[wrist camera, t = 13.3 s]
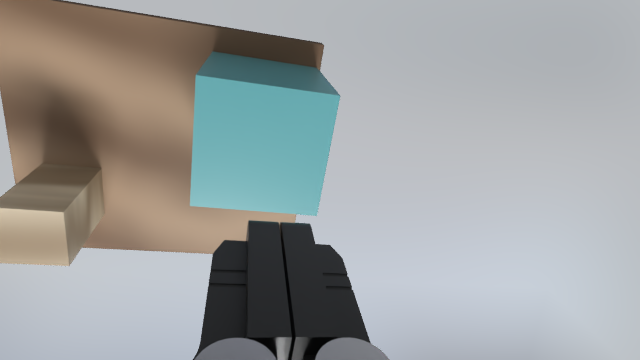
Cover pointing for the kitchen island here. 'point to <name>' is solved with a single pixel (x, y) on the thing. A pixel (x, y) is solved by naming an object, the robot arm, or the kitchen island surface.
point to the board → (112, 129)
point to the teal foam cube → (260, 135)
